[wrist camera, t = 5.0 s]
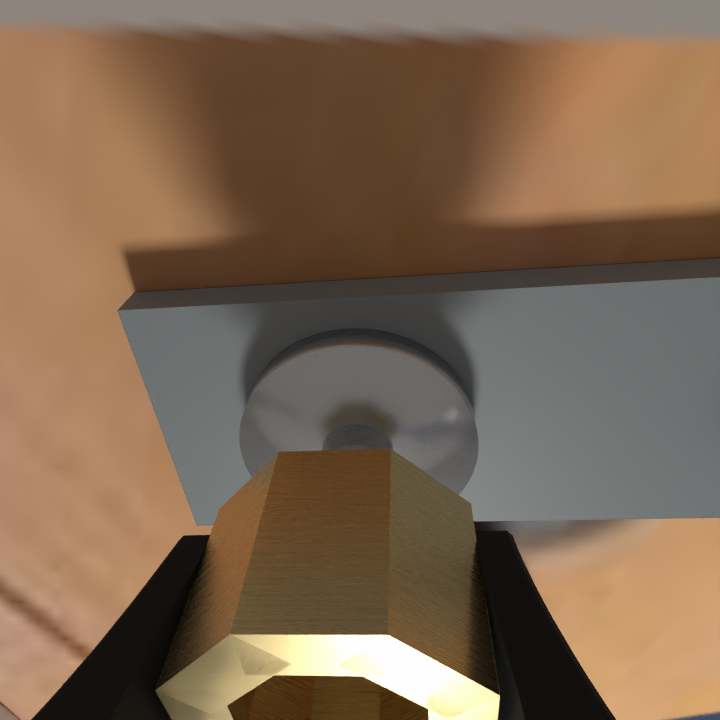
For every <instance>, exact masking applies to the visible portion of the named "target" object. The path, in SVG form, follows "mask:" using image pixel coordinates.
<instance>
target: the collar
mask: <svg viewBox="0 0 720 720" xmlns="http://www.w3.org/2000/svg"><path fill="white" fill-rule="evenodd" d="M476 542H477V540H476V533H475V527H474V520H473V513H472V507H471V503H470V502H468V501H467V500H465V499H464V498H462V497H461V496H459V495H458V494H456V493H455V492H454V491H452V490H451V489H449V488H448V487H446V486H445V485H443V484H442V483H440V482H439V481H437V480H436V479H435V478H433V477H432V476H430V475H429V474H427V473H426V472H424V471H423V470H421V469H420V468H418V467H417V466H416V465H414V464H413V463H411V462H410V461H408V460H407V459H405V458H404V457H402V456H401V455H399V454H398V453H396V452H395V451H394V450H392V449H391V448H390V449H356V450H321V451H287V452H278V453H277V454H276V455H275V456H274V457H273V458H272V459H271V460H270V461H269V462H268V463H267V464H265V465H264V466H263V467H262V468H261V469H260V470H259V471H258V472H257V473H256V474H255V475H254V476H253V477H252V478H251V479H250V480H249V481H248V482H247V483H246V484H245V485H244V486H243V487H242V488H240V489H239V490H238V491H237V492H236V493H235V494H234V495H233V496H232V497H231V498H230V499H229V500H228V501H227V502H226V503H225V504H224V505H223V506H222V507H221V508H220V509H219V512H218V515H217V518H216V521H215V523H214V526H213V529H212V532H211V535H210V537H209V540H208V543H207V547H206V550H205V553H204V555H203V558H202V561H201V564H200V567H199V569H198V572H197V575H196V578H195V580H194V583H193V585H192V588H191V591H190V594H189V596H188V599H187V602H186V605H185V608H184V610H183V613H182V616H181V619H180V622H179V625H178V627H177V630H176V633H175V636H174V639H173V641H172V644H171V647H170V650H169V653H168V655H167V658H166V661H165V664H164V667H163V669H162V672H161V675H160V678H159V681H158V684H157V686H156V689H155V691H156V693H157V695H158V696H159V698H160V700H161V702H162V703H163V705H164V707H165V709H166V711H167V712H168V714H169V716H170V718H171V719H172V720H498V711H499V701H500V691H499V684H498V678H497V671H496V664H495V658H494V651H493V645H492V638H491V632H490V625H489V618H488V612H487V605H486V599H485V592H484V586H483V580H482V576H481V570H480V563H479V556H478V550H477V543H476Z"/></svg>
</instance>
